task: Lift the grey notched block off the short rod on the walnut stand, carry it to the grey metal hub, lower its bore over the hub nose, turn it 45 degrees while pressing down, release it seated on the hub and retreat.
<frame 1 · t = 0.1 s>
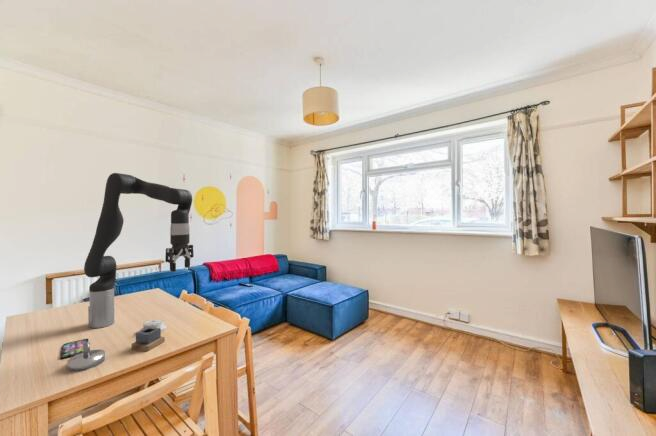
hand: (180, 269, 120), 29 cm above the table, fingers open, 8 cm apart
stand: (148, 345, 110), on the table
grey rounded lump: (153, 331, 124), on the table
grey notched block: (148, 340, 110), point 2 cm above the table, touching stand
smartphone: (75, 350, 107), on the table
hub: (86, 363, 97), on the table
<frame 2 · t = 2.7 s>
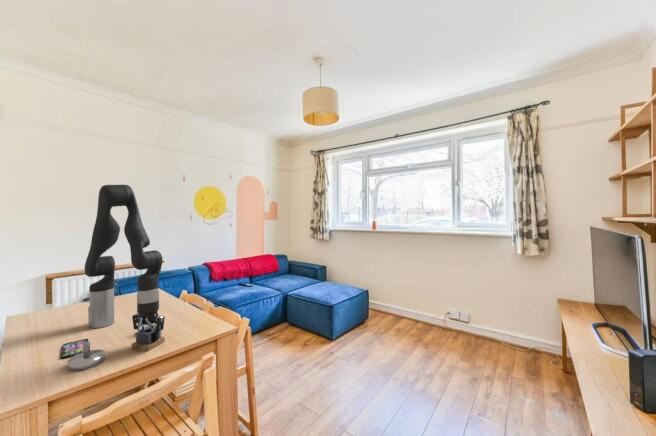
hand: (148, 340, 110), 2 cm above the table, fingers closed on grey notched block, 6 cm apart
grey notched block: (148, 340, 110), point 2 cm above the table, touching gripper
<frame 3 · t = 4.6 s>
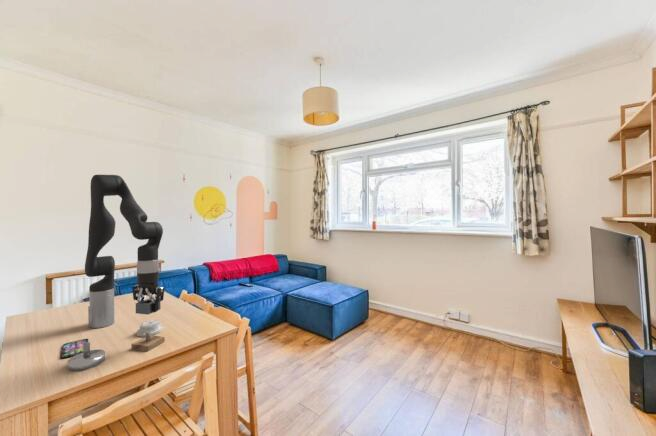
hand: (148, 311, 110), 14 cm above the table, fingers closed on grey notched block, 6 cm apart
grey notched block: (148, 311, 110), point 14 cm above the table, touching gripper
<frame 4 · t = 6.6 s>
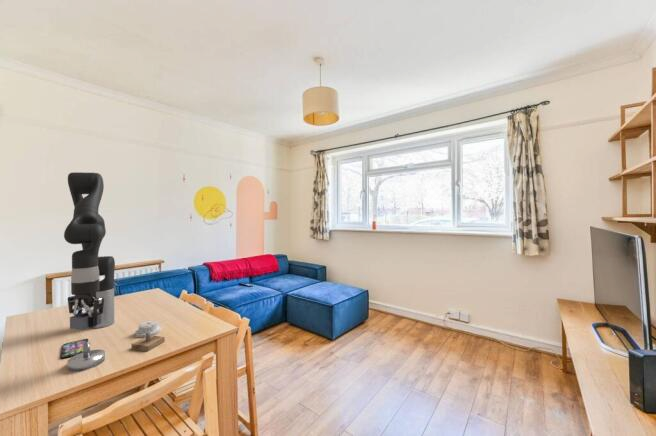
hand: (86, 325, 96), 14 cm above the table, fingers closed on grey notched block, 6 cm apart
grey notched block: (85, 325, 96), point 14 cm above the table, touching gripper
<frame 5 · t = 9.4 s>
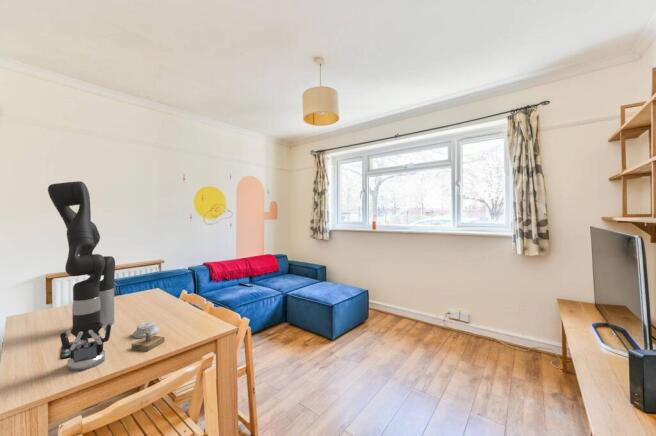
hand: (87, 356, 97), 3 cm above the table, fingers closed on grey notched block, 6 cm apart
grey notched block: (87, 356, 97), point 3 cm above the table, touching gripper, hub
when the fingers open (3 cm above the table, at t = 10.1 s): grey notched block stays where it is, resting on hub.
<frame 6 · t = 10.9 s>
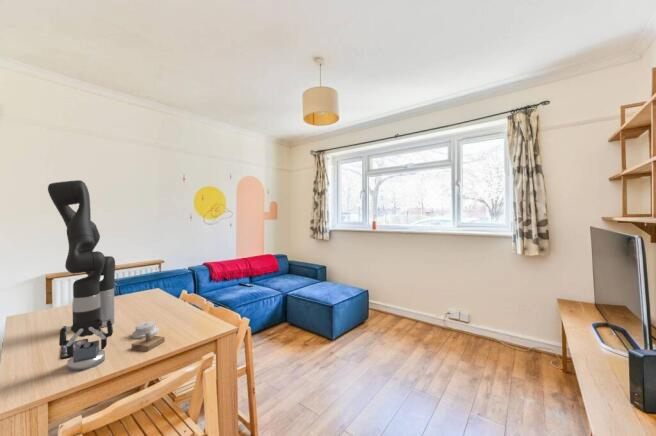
hand: (87, 351, 97), 4 cm above the table, fingers open, 8 cm apart
grey notched block: (86, 356, 96), point 2 cm above the table, touching hub
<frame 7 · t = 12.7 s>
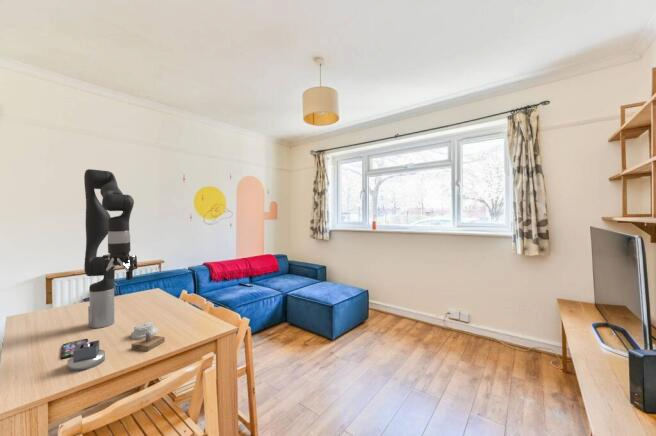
hand: (120, 279, 114), 26 cm above the table, fingers open, 8 cm apart
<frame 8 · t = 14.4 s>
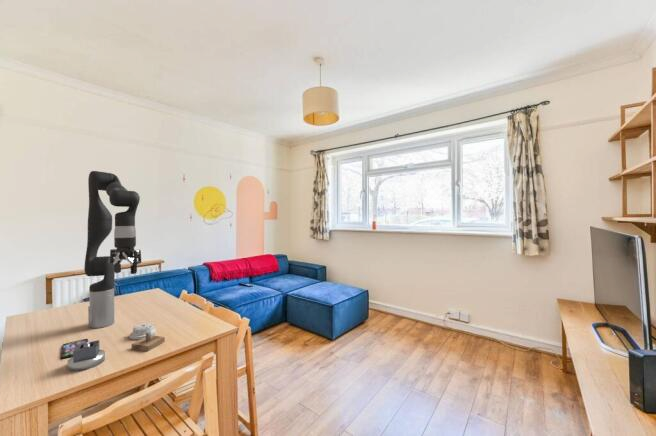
hand: (125, 273, 117), 28 cm above the table, fingers open, 8 cm apart
at the end: grey notched block 0.0 cm off-centre on the hub, point 2.5 cm above the hub's base; the gripper is holding nothing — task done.
